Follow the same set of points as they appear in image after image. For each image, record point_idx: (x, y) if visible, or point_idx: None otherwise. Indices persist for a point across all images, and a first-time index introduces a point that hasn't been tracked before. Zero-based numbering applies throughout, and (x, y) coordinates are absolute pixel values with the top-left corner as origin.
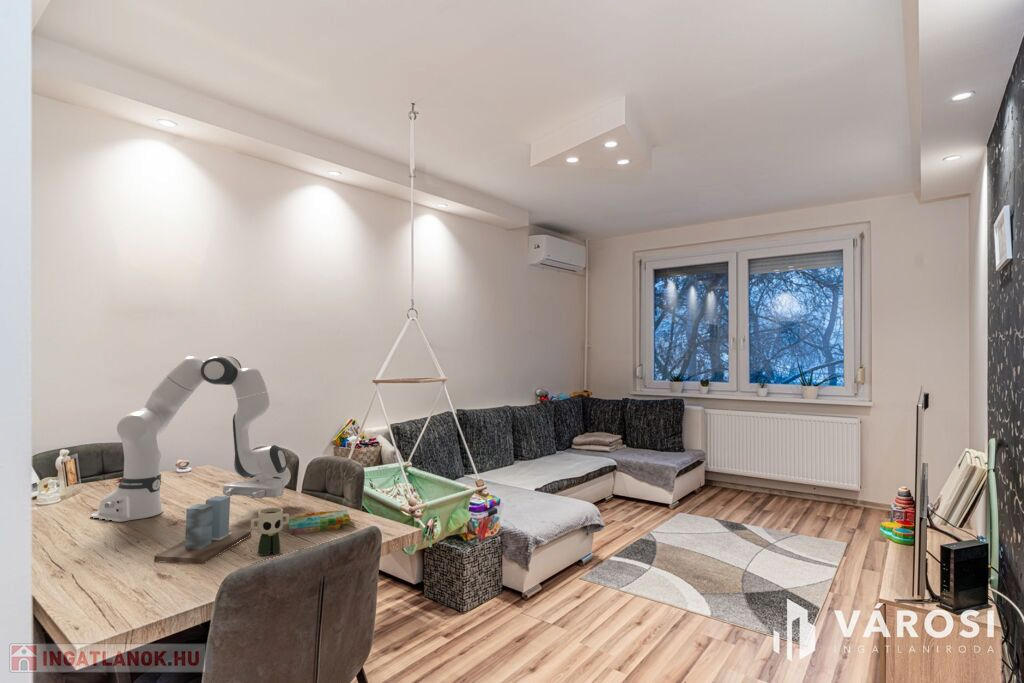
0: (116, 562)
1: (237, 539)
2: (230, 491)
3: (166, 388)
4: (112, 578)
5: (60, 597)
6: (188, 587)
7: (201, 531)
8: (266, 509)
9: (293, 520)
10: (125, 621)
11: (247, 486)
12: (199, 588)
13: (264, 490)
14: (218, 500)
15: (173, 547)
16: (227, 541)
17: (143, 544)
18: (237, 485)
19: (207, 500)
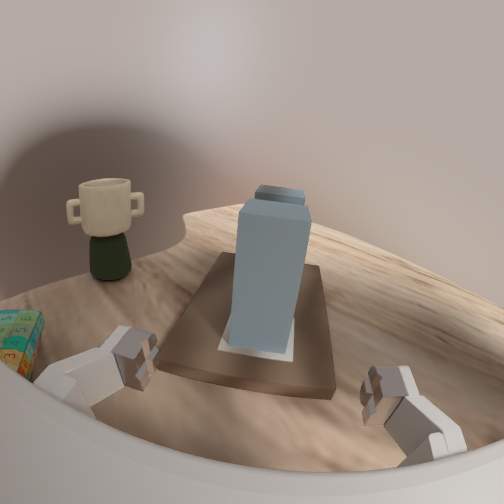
0: (372, 277)
1: (185, 312)
2: (376, 368)
3: None
4: (324, 249)
5: (333, 233)
6: (211, 228)
7: None
8: (110, 188)
9: (16, 334)
10: (238, 210)
11: (264, 474)
12: (197, 226)
13: (44, 371)
14: (260, 200)
15: (317, 287)
16: (207, 299)
17: (416, 328)
18: (435, 476)
19: (301, 206)
